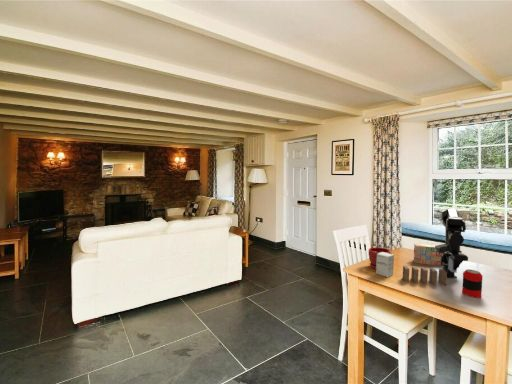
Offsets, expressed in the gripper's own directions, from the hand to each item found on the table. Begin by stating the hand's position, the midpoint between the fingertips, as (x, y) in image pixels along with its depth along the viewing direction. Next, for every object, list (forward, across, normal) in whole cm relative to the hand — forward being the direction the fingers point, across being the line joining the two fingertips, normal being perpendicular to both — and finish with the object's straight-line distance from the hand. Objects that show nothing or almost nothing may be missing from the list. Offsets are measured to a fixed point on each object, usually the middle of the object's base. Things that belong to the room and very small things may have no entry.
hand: (452, 268), depth 147 cm
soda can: (+9, +12, +4) cm, 16 cm away
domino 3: (+9, 0, -14) cm, 17 cm away
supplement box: (+9, -6, -33) cm, 35 cm away
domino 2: (+9, 0, -18) cm, 21 cm away
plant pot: (+9, -18, -34) cm, 40 cm away
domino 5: (+9, 0, -5) cm, 10 cm away
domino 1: (+9, 0, -23) cm, 25 cm away
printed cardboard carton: (+10, -37, +3) cm, 38 cm away
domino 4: (+9, 0, -9) cm, 13 cm away
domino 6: (+2, 0, 0) cm, 2 cm away
